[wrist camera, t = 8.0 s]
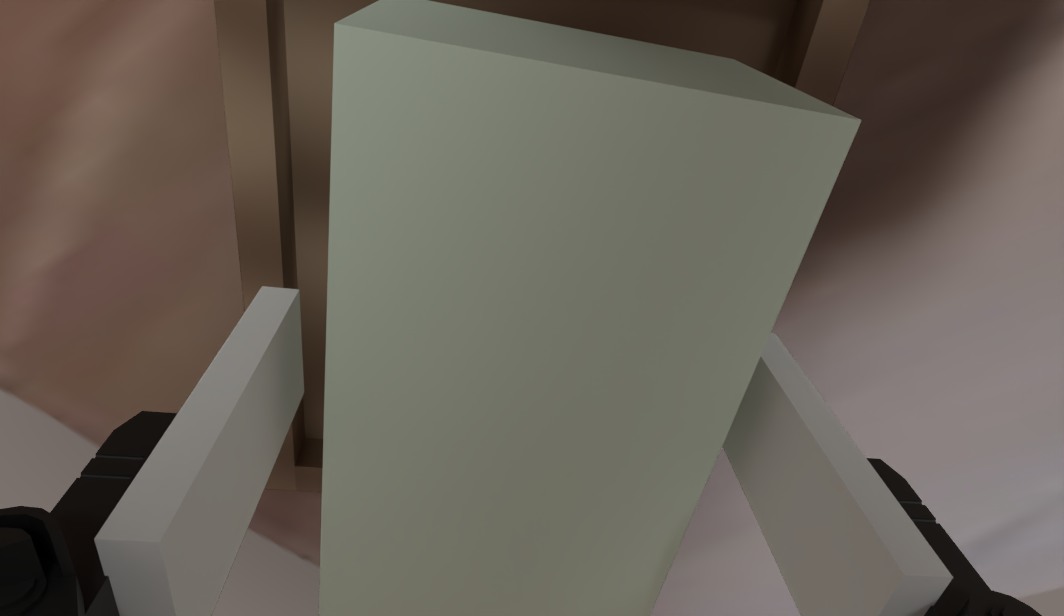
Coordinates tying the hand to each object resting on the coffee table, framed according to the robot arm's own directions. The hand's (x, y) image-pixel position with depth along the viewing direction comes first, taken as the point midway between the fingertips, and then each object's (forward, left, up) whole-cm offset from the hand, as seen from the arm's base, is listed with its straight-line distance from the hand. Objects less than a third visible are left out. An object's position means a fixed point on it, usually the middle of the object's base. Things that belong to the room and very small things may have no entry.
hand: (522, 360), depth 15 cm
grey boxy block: (0, 0, -4) cm, 4 cm away
